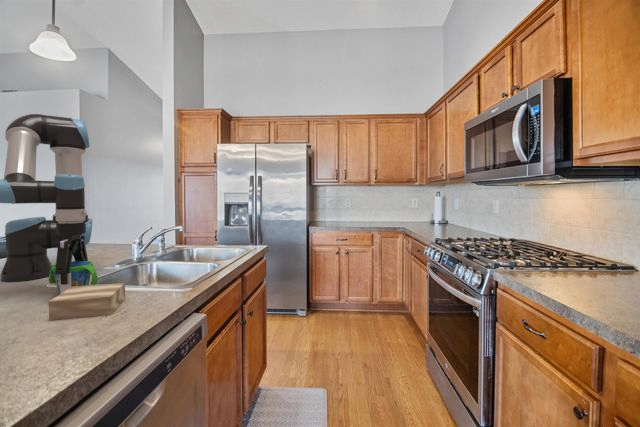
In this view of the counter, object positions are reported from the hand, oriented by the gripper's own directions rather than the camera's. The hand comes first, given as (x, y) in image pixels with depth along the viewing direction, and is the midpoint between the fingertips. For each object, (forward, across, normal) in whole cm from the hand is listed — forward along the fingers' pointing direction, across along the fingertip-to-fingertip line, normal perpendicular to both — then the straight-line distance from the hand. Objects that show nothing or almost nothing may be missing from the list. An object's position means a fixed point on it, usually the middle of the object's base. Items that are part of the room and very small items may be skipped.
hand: (73, 288), depth 102 cm
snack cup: (+2, 0, 0) cm, 2 cm away
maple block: (+2, -16, -10) cm, 19 cm away
